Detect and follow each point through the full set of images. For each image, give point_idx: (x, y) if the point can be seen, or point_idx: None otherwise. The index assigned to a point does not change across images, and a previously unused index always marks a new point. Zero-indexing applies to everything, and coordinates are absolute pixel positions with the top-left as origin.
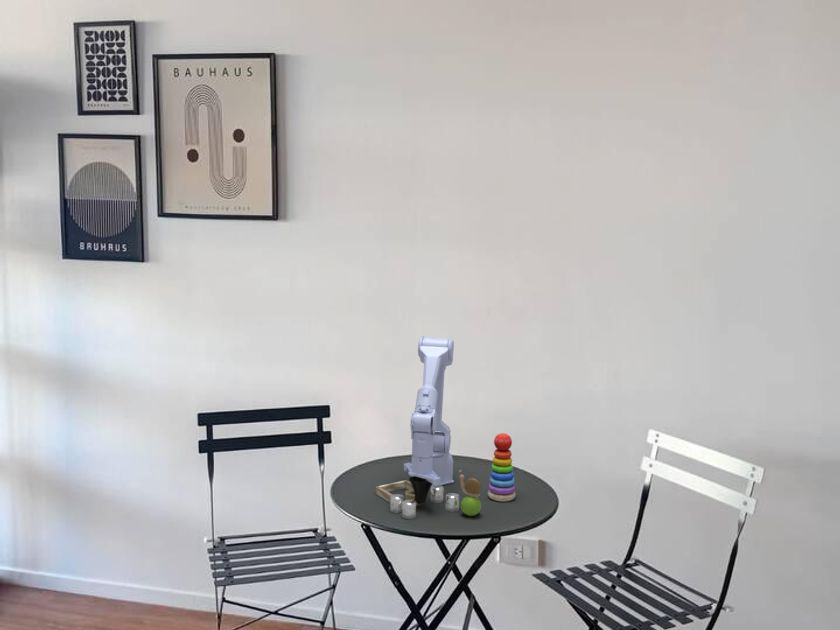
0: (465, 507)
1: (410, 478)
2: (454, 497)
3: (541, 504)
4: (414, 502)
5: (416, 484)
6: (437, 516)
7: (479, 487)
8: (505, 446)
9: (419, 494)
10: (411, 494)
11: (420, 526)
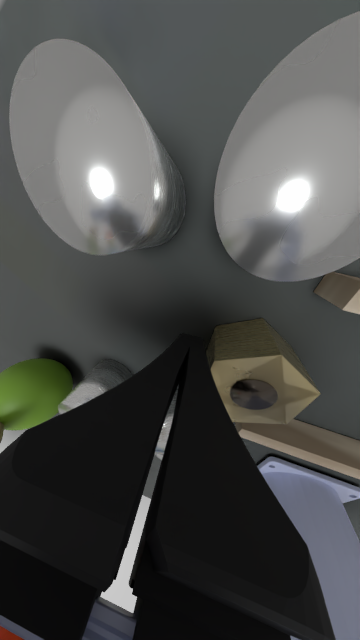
0: (11, 370)
1: (282, 624)
2: (59, 407)
3: None
4: (56, 218)
5: (95, 446)
6: (87, 306)
7: None
8: None
9: (152, 363)
10: (246, 369)
11: (11, 143)
